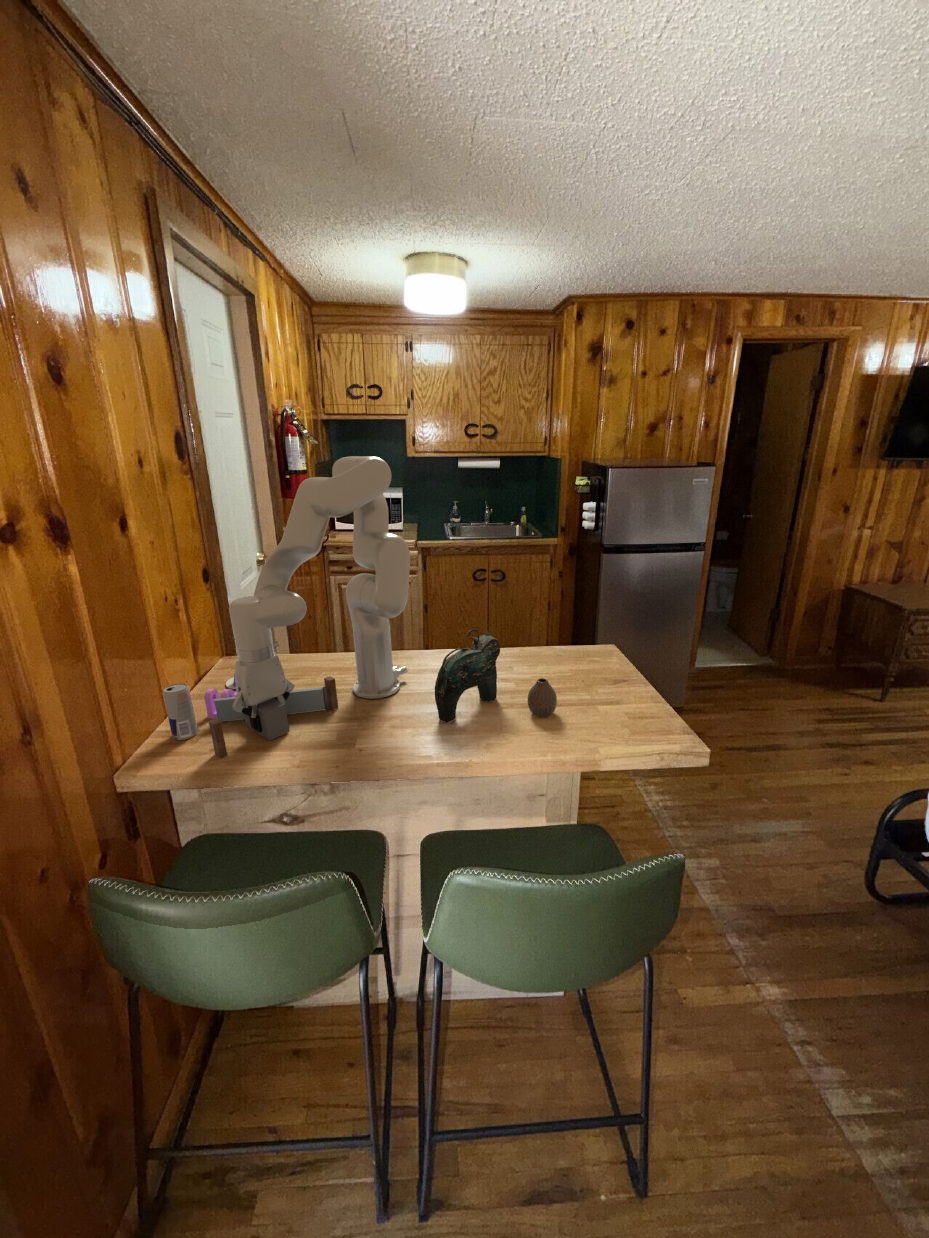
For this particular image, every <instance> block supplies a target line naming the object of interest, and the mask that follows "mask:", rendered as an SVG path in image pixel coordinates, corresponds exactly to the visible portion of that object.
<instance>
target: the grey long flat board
mask: <svg viewBox="0 0 929 1238" xmlns="http://www.w3.org/2000/svg"><path fill="white" fill-rule="evenodd" d="M235 699H236V697H228V698H221V697H219V699H215V701H214V702H215V708H216V713H217V718H218V720H219V721H221V723H222V722H230V721H240V720H246V718H245V714H244V713H241V712H237V711H235V710H233V709H232V708H231V707H232V705H233V703H234V701H235ZM241 706H243V707H245V708H246V707H247V705H246V703H245V701H243V702H242V704H241ZM285 709H286V715H289V714H290V715H291V714H299V713H300V714H301V713H307V712H317V711H329V710H330V708H329V701H328V693H327V687H326V686H325V685H324V686H321V687H311V688H304V689H303V688H302V689H293V690H292V691H291V693H290V695H289V697H288V698H287V700H286V704H285Z"/></svg>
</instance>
